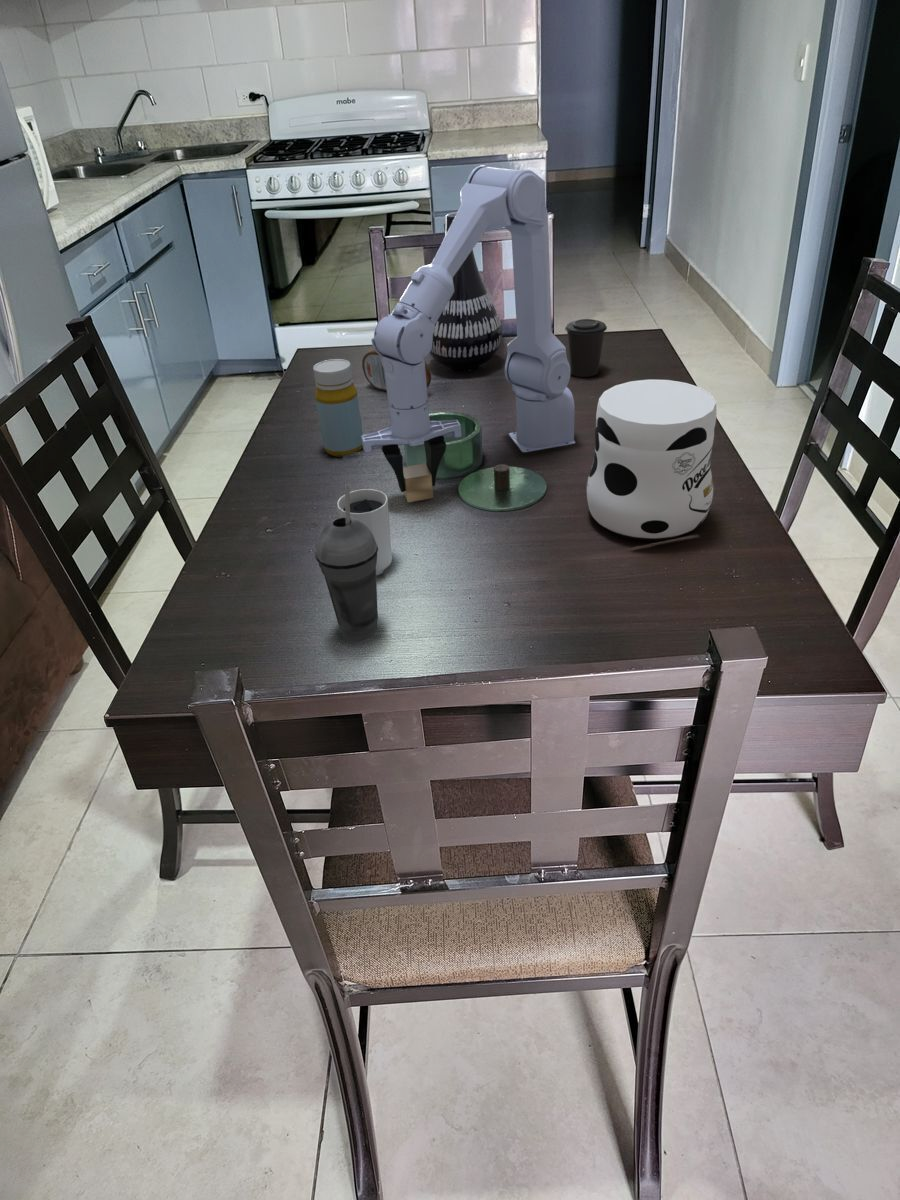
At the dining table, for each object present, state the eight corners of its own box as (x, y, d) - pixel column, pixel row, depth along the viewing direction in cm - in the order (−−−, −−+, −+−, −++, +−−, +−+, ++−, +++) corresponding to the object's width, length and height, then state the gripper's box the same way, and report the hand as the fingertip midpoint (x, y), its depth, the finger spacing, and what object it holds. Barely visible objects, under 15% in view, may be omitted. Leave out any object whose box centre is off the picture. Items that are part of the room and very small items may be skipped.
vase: (411, 368, 175) (397, 217, 158) (465, 347, 183) (457, 201, 166) (463, 386, 165) (454, 227, 148) (518, 363, 174) (516, 210, 156)
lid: (529, 466, 136) (529, 442, 133) (559, 505, 125) (559, 479, 122) (449, 481, 133) (447, 456, 131) (472, 521, 123) (470, 496, 120)
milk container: (729, 541, 114) (749, 418, 103) (607, 559, 112) (614, 436, 102) (680, 483, 128) (693, 369, 117) (571, 499, 126) (573, 384, 116)
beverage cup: (331, 615, 106) (304, 474, 94) (388, 609, 106) (369, 468, 95) (329, 651, 100) (301, 505, 88) (389, 645, 100) (369, 499, 89)
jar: (470, 442, 145) (468, 407, 141) (491, 473, 135) (490, 437, 131) (399, 454, 142) (395, 419, 139) (415, 487, 132) (412, 450, 129)
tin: (433, 394, 163) (430, 352, 158) (424, 400, 161) (420, 357, 156) (372, 383, 170) (366, 342, 165) (362, 388, 168) (357, 347, 163)
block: (427, 486, 130) (425, 462, 127) (433, 497, 127) (431, 474, 124) (402, 490, 129) (399, 467, 127) (407, 502, 126) (405, 479, 124)
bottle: (358, 458, 142) (345, 373, 133) (319, 457, 143) (304, 373, 135) (369, 440, 148) (358, 358, 139) (331, 439, 149) (318, 357, 140)
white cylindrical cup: (341, 559, 117) (330, 496, 111) (385, 547, 119) (377, 484, 113) (355, 583, 112) (345, 518, 106) (402, 570, 113) (394, 505, 108)
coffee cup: (607, 378, 163) (610, 327, 158) (566, 380, 164) (567, 330, 158) (602, 363, 170) (604, 314, 164) (562, 365, 170) (562, 316, 164)
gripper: (362, 420, 115) (374, 506, 123) (464, 403, 117) (469, 489, 125) (354, 401, 120) (366, 485, 128) (451, 386, 123) (457, 469, 131)
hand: (416, 486), depth 127 cm, fingers closed on block, 4 cm apart
